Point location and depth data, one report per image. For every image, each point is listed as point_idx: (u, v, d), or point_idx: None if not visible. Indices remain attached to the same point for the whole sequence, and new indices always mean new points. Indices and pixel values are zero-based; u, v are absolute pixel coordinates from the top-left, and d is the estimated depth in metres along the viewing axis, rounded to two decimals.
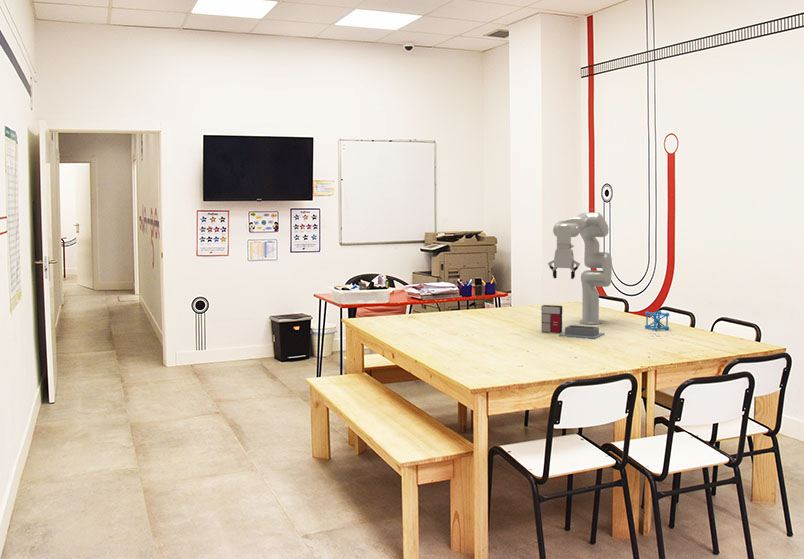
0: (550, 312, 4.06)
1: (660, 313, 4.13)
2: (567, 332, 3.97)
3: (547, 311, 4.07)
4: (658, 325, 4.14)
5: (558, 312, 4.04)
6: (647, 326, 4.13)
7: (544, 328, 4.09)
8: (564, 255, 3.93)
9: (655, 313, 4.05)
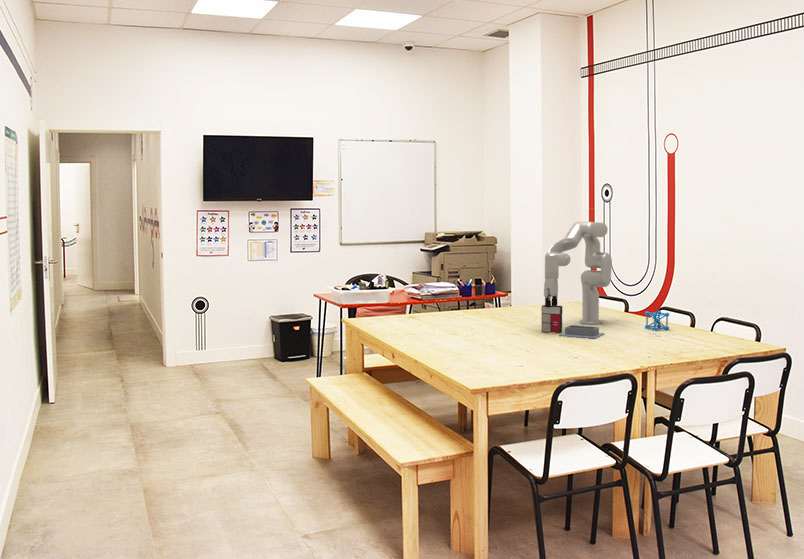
0: (550, 312, 4.06)
1: (660, 313, 4.13)
2: (567, 332, 3.97)
3: (547, 311, 4.07)
4: (658, 325, 4.14)
5: (558, 312, 4.04)
6: (647, 326, 4.13)
7: (544, 328, 4.09)
8: (556, 283, 4.06)
9: (655, 313, 4.05)
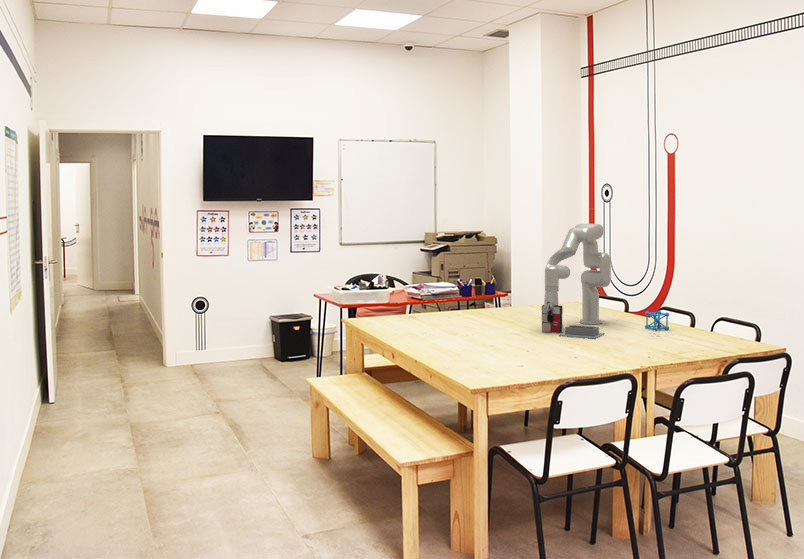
0: None
1: (660, 313, 4.13)
2: (567, 332, 3.97)
3: None
4: (658, 325, 4.14)
5: (558, 312, 4.04)
6: (647, 326, 4.13)
7: (544, 328, 4.09)
8: (556, 296, 4.06)
9: (655, 313, 4.05)
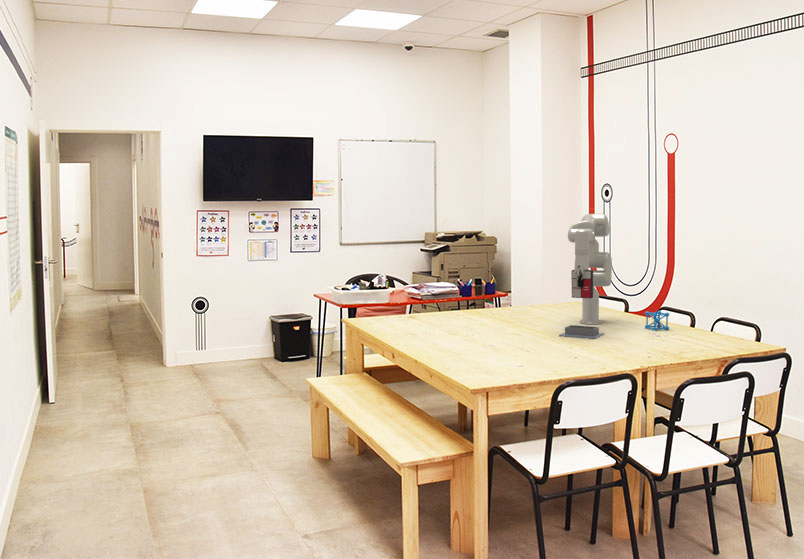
0: None
1: (660, 313, 4.13)
2: (567, 332, 3.97)
3: None
4: (658, 325, 4.14)
5: (589, 276, 3.91)
6: (647, 326, 4.13)
7: (574, 293, 3.96)
8: (587, 260, 3.93)
9: (655, 313, 4.05)
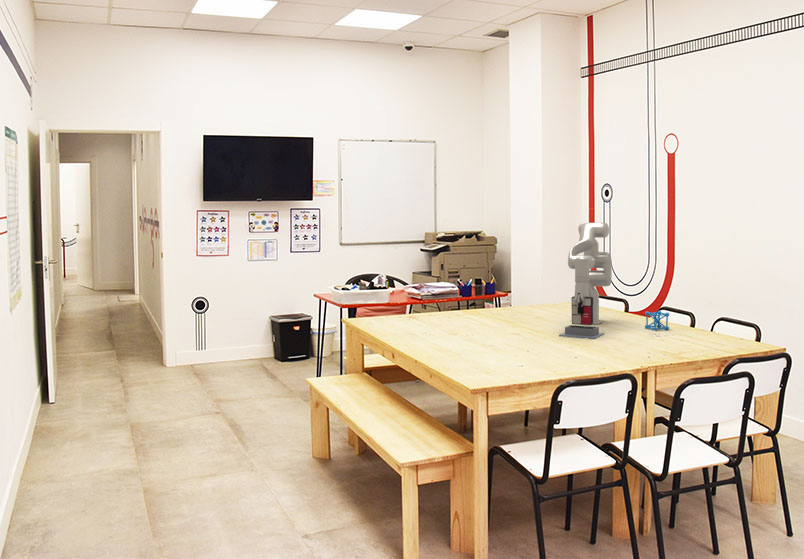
0: None
1: (660, 313, 4.13)
2: (567, 332, 3.97)
3: None
4: (658, 325, 4.14)
5: (589, 304, 3.92)
6: (647, 326, 4.13)
7: (574, 320, 3.97)
8: (587, 287, 3.95)
9: (655, 313, 4.05)
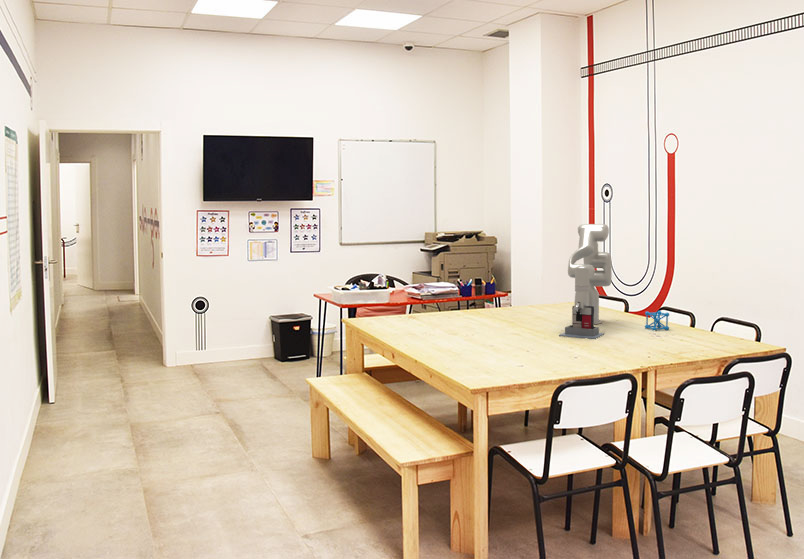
0: (581, 313, 3.96)
1: (660, 313, 4.13)
2: (567, 332, 3.97)
3: None
4: (658, 325, 4.14)
5: (589, 313, 3.94)
6: (647, 326, 4.13)
7: None
8: (587, 296, 3.95)
9: (655, 313, 4.05)
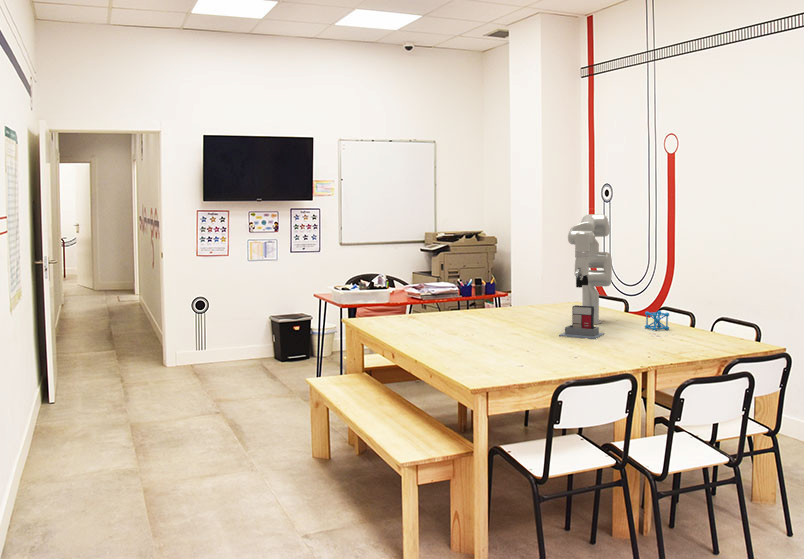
0: (581, 313, 3.96)
1: (660, 313, 4.13)
2: (567, 332, 3.97)
3: (578, 312, 3.97)
4: (658, 325, 4.14)
5: (589, 313, 3.94)
6: (647, 326, 4.13)
7: None
8: (587, 262, 3.93)
9: (655, 313, 4.05)
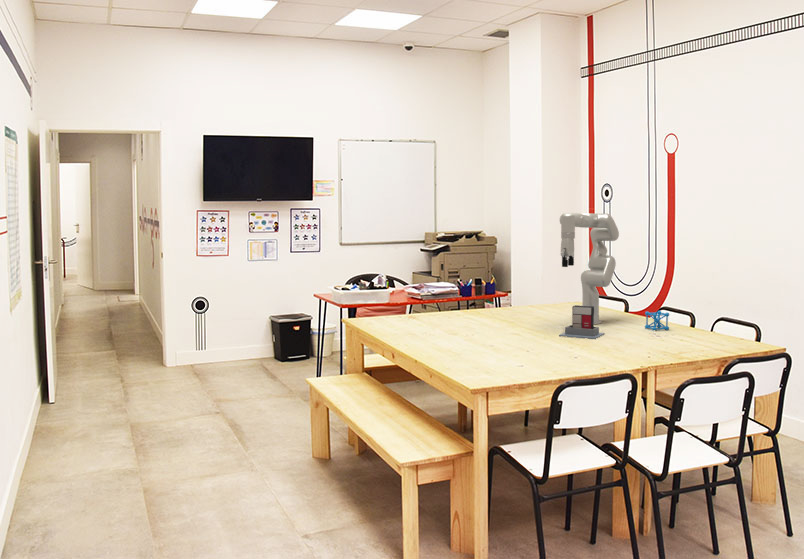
0: (581, 313, 3.96)
1: (660, 313, 4.13)
2: (567, 332, 3.97)
3: (578, 312, 3.97)
4: (658, 325, 4.14)
5: (589, 313, 3.94)
6: (647, 326, 4.13)
7: None
8: (572, 243, 4.11)
9: (655, 313, 4.05)
